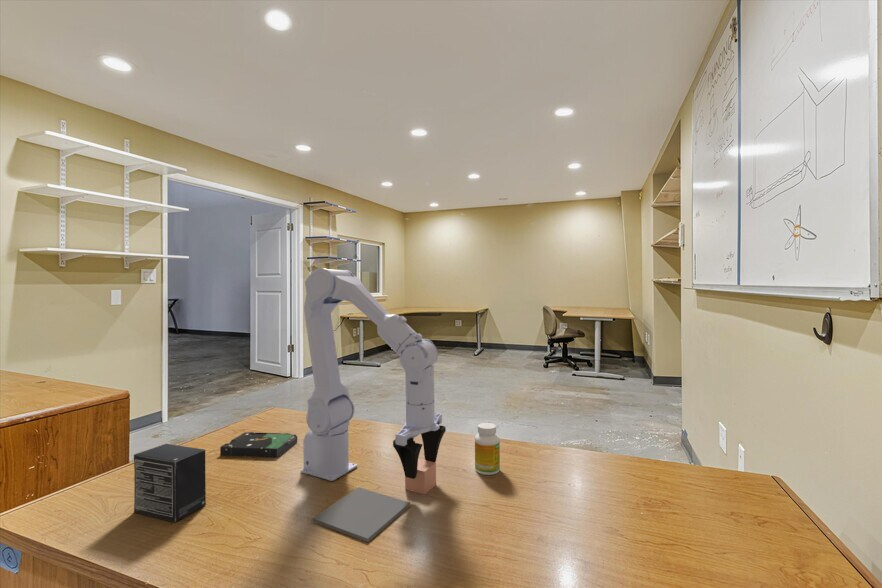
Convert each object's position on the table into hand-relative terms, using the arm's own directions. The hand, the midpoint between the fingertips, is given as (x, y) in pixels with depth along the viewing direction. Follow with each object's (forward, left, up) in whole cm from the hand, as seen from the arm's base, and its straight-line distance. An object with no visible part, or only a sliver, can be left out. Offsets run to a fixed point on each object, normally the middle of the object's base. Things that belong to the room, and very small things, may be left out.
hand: (421, 469), depth 80 cm
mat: (-4, -13, -4) cm, 14 cm away
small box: (-36, -28, -4) cm, 46 cm away
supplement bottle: (+9, +13, -4) cm, 16 cm away
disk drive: (-46, -2, -4) cm, 46 cm away
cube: (0, 0, -4) cm, 4 cm away
